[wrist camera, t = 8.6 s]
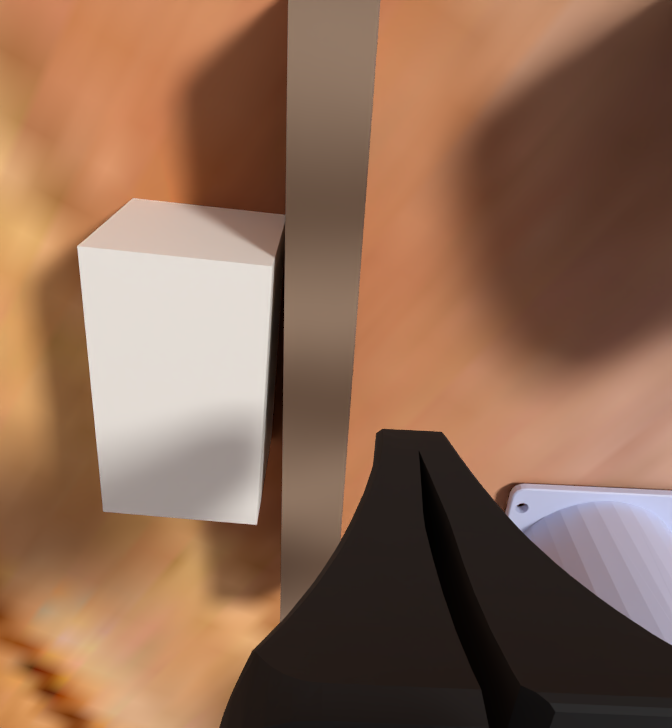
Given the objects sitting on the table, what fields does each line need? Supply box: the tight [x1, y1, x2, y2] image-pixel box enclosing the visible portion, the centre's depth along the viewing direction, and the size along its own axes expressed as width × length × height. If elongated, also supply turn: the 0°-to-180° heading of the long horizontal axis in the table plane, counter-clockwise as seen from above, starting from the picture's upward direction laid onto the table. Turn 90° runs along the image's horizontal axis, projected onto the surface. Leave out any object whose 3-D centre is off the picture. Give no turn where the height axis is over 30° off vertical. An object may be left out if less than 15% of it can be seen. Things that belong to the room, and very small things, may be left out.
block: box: [77, 198, 285, 525], centre depth 20 cm, size 9×5×5 cm, turn 174°
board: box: [280, 0, 380, 622], centre depth 21 cm, size 22×2×4 cm, turn 177°
